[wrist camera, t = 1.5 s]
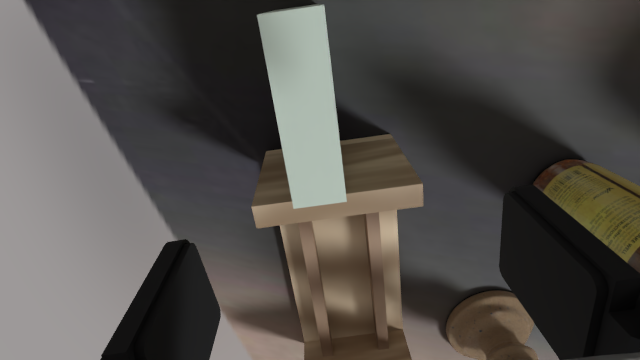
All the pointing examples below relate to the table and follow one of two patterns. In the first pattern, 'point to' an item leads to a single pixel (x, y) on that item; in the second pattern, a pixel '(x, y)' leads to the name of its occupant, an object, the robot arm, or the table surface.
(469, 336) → the candle holder
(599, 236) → the sauce bottle
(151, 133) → the table surface
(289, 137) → the rectangular block
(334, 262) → the track
